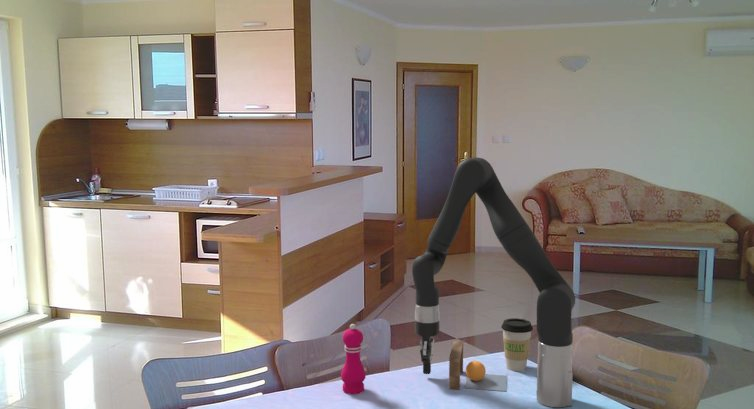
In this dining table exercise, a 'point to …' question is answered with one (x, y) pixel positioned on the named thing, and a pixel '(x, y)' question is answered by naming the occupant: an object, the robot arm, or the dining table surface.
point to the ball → (475, 371)
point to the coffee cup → (516, 342)
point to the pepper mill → (353, 362)
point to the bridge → (455, 365)
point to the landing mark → (488, 383)
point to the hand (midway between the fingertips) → (426, 373)
